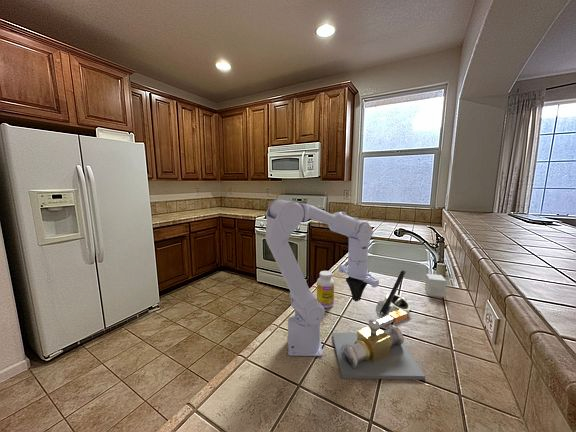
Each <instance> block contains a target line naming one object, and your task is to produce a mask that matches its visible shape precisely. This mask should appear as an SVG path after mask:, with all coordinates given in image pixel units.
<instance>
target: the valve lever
mask: <svg viewBox="0 0 576 432" xmlns="http://www.w3.org/2000/svg"><path fill="white" fill-rule="evenodd" d="M407 318H408V314H407V313H406V312H404V311H403V310H401V309H399V310H397V311H394V312H391V313H389V314H388V316H386V317H384V318H381V319H380V318H379V319H373V318H372V319H369V320H368V326H367V327H369V329H370V330H372V331H378V330H379V329H380V328H382V327H383V326H386V325H387V326H388V325H390V324H392V323H394V324H396V323H399V322H401V321H404V320H406V319H407ZM391 322H392V323H391Z"/></svg>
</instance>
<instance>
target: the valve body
mask: <svg viewBox="0 0 576 432" xmlns="http://www.w3.org/2000/svg"><path fill="white" fill-rule="evenodd" d="M356 333H357V341H355V343H354V345H351V346H350V345H348V344H345V345H343V346H342V347H341V354H342V358H343V359H344V360H345V361H346V362H347V363H348V364H349V365H350V366H351V367H352V368H353V369H354V368H356V367H357V366H358V362H360V361H362V360H364V361H367V360H369V359H370V360H371V361H372V362H373V363H374V362H376V361H378V360H380V359H382V358H384V357H386V356H388V355H389V354H390V349H391V348H392V345H394V344H397V345H398V346H400V345H402V344H403V343H405V339H404V334H403V332H402V331H401V330H400V328H399V327H398V326H396V324H388V325H387V326H386V327H385V330H382V329H380V328H379V330H378V331H372V330H370V329H369V327H368V326H366V327H363V328H361V329H359V330H358V329H357V331H356Z"/></svg>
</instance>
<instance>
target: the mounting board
mask: <svg viewBox="0 0 576 432" xmlns="http://www.w3.org/2000/svg"><path fill="white" fill-rule="evenodd" d="M332 339H333V341H332V342H333V343H334V344H333V345H334V349H335V355H336V358H337V362H338V367H339V371H340V377H341V379H358V380H359V379H362V380H363V379H364V380H365V379H367V380H371V379H372V380H374V379H375V380H419V381H420V380H423V381H424V380H426V375H425V374H424V371H423V370H422V369H421V367H420V366H419V364H418V363H417V361H416V359H415V358H414V357H413V355H412V353H411V352H410V350H409V349H408V347H407V346H406V344H405V342H403V344H402V345H400V346H398V345H397V344H394V345H392V348H391V349H390V354H389V355H388V356H386V357H384V358H382V359H380V360H378V361H376V362H374V363H373V362H372V361H371V360H370V359H369V360H367V361H364V360H362V361H360V362H358V366H357V367H356V368H354V369H353V368H352V367H351V366H350V365H349V364H348V363H347V362H346V361H345V360H344V359H343V358H342V354H341V347H342V346H343V345H345V344H348V345H350V346H351V345H354V343H355V341H357V332H332Z"/></svg>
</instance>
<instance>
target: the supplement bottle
mask: <svg viewBox="0 0 576 432" xmlns="http://www.w3.org/2000/svg"><path fill="white" fill-rule="evenodd" d="M332 277H333V273H332V272H331V271H329V270H321V271H320V272H319V277H318V278H317V280H316V299H317V301H318V303H320V304H321V305H322V306H323V307H324V309H325V308H326V309H327V308H328V309H329V308H331V307H333V306H334V304H335V281H334V279H333V278H332Z"/></svg>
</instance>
